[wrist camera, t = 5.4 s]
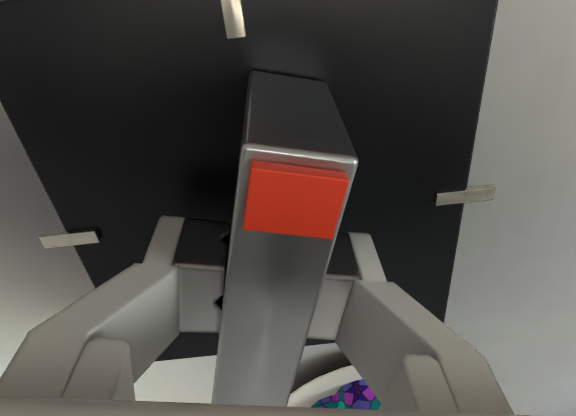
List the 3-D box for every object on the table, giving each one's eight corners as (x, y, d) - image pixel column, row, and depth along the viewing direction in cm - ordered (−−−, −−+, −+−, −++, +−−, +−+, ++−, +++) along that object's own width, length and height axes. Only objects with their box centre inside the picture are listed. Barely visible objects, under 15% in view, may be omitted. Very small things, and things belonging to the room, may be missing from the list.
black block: (429, 273, 16) (462, 341, 13) (141, 304, 16) (116, 377, 13) (474, -83, 9) (555, -90, 7) (-2, -26, 10) (-102, -11, 7)
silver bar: (276, 315, 12) (279, 445, 9) (222, 310, 12) (206, 443, 9) (327, 81, 8) (365, 168, 5) (249, 68, 8) (240, 151, 5)
